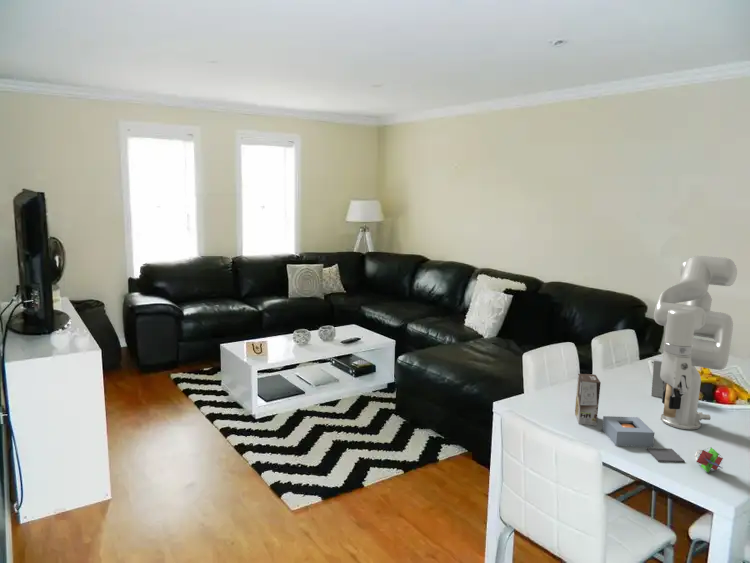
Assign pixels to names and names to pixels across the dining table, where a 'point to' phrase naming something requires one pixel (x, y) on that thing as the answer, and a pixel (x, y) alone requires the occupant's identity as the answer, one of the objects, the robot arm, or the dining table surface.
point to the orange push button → (627, 426)
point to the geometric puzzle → (708, 459)
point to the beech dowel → (667, 410)
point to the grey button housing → (628, 431)
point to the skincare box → (657, 378)
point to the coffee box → (587, 399)
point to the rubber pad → (665, 455)
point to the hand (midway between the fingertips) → (670, 405)
